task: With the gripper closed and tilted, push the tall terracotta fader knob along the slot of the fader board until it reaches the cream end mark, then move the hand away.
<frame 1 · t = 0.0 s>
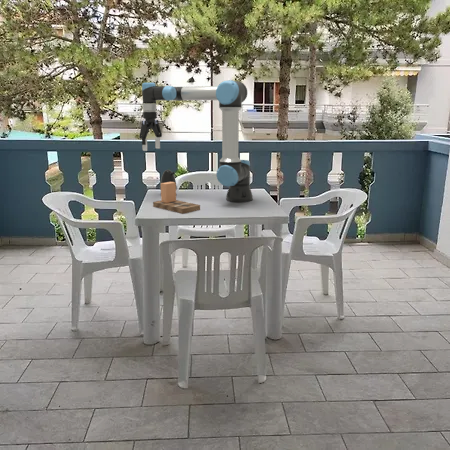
hand: (151, 149, 255), 28 cm above the table, tool pointing down, fingers open, 13 cm apart
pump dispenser: (168, 195, 270), on the table
fader knob: (168, 192, 237), point 8 cm above the table, slide at 0.0 cm
fader board: (176, 208, 235), on the table
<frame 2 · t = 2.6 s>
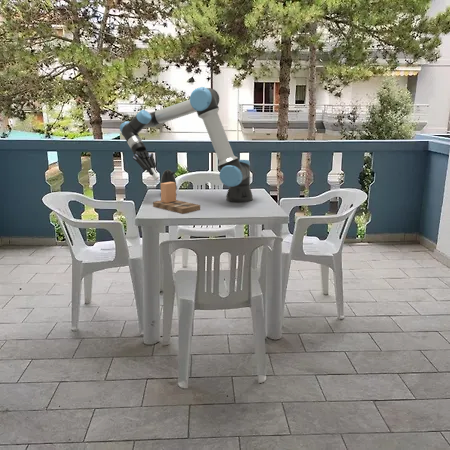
hand: (156, 178, 241), 14 cm above the table, tool tilted 45°, fingers closed
nothing on the table moved.
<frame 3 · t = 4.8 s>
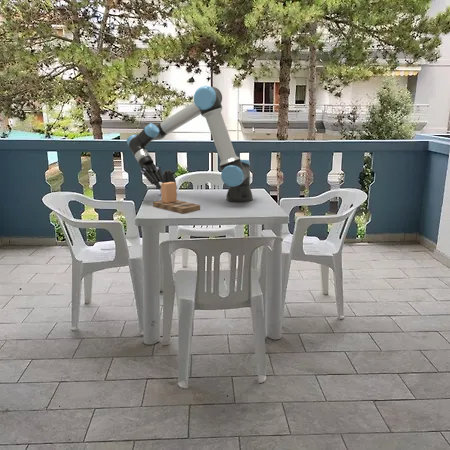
hand: (164, 192, 239), 7 cm above the table, tool tilted 45°, fingers closed
fader knob: (168, 192, 237), point 8 cm above the table, slide at 0.4 cm, touching gripper
everything else where it was.
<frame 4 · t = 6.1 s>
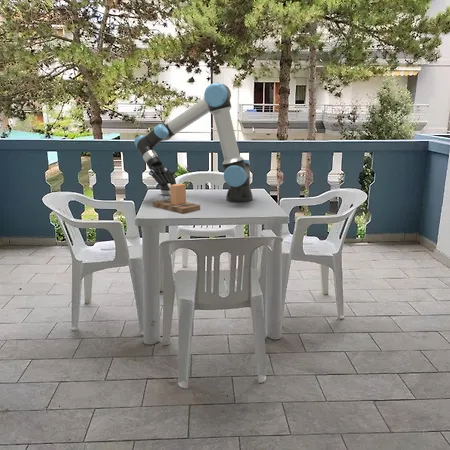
hand: (173, 194, 234), 7 cm above the table, tool tilted 45°, fingers closed
fader knob: (178, 194, 232), point 8 cm above the table, slide at 7.8 cm, touching gripper
everything else where it was.
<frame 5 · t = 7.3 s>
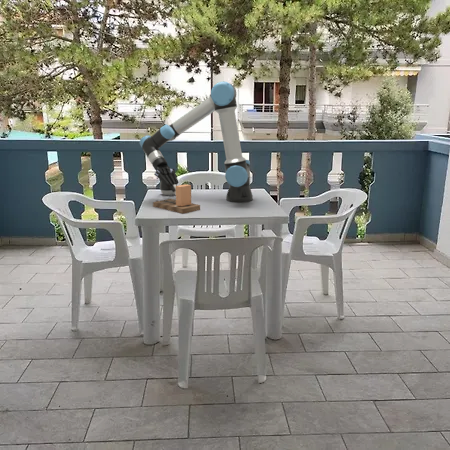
hand: (179, 195, 231), 7 cm above the table, tool tilted 45°, fingers closed
fader knob: (183, 195, 229), point 8 cm above the table, slide at 12.0 cm, touching gripper
everything else where it was.
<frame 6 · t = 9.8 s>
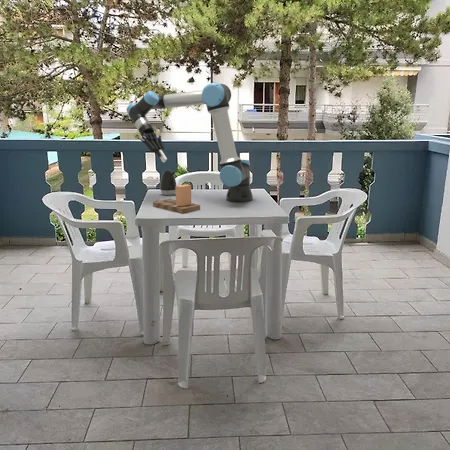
hand: (165, 160, 237), 24 cm above the table, tool tilted 45°, fingers closed
fader knob: (183, 195, 229), point 8 cm above the table, slide at 12.0 cm
everything else where it was.
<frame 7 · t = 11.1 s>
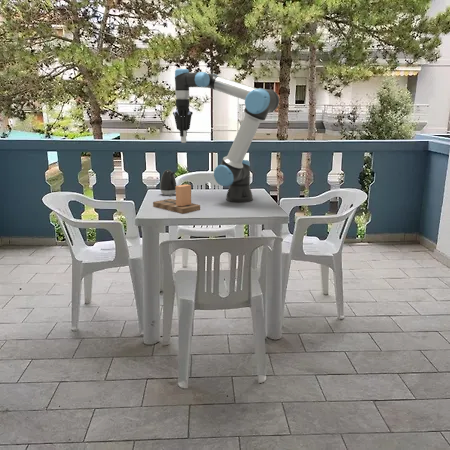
hand: (183, 142, 250), 32 cm above the table, tool pointing down, fingers closed
nothing on the table moved.
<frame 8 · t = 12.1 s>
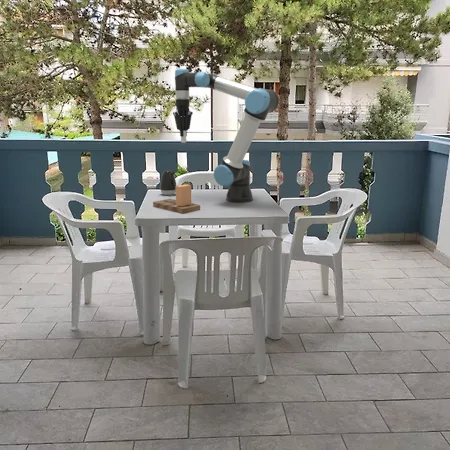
hand: (183, 142, 250), 32 cm above the table, tool pointing down, fingers closed
nothing on the table moved.
at the end: fader knob slide at 12.0 cm; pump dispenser moved 0.2 cm from its start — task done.
